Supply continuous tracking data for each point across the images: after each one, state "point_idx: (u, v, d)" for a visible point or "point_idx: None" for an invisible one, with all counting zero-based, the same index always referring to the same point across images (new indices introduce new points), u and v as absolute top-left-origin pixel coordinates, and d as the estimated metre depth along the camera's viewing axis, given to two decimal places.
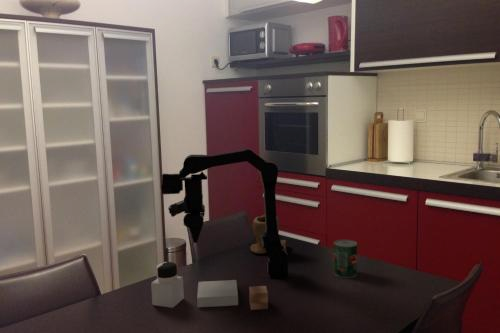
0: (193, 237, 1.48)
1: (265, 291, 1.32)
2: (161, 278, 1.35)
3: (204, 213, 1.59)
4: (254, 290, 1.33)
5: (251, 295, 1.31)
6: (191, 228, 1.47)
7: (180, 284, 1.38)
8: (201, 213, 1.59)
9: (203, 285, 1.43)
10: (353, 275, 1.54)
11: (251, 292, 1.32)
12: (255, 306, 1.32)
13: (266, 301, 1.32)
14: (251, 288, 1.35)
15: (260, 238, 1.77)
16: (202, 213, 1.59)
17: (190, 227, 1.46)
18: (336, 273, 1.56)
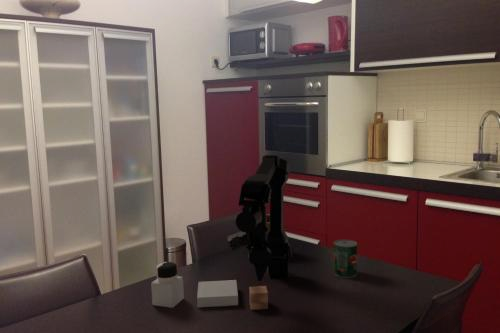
0: (258, 275, 1.28)
1: (265, 291, 1.32)
2: (161, 278, 1.35)
3: None
4: (254, 290, 1.33)
5: (251, 295, 1.31)
6: (256, 265, 1.26)
7: (180, 284, 1.38)
8: None
9: (203, 285, 1.43)
10: (353, 275, 1.54)
11: (251, 292, 1.32)
12: (255, 306, 1.32)
13: (266, 301, 1.32)
14: (251, 288, 1.35)
15: None
16: None
17: (255, 264, 1.26)
18: (336, 273, 1.56)
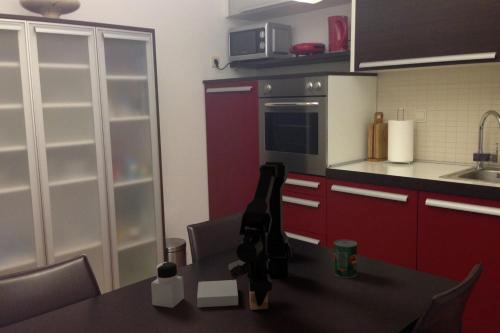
0: (258, 300, 1.31)
1: None
2: (161, 278, 1.35)
3: (266, 273, 1.38)
4: None
5: (251, 295, 1.31)
6: None
7: (180, 284, 1.38)
8: None
9: (203, 285, 1.43)
10: (353, 275, 1.54)
11: (251, 292, 1.32)
12: (255, 305, 1.32)
13: (266, 301, 1.32)
14: None
15: None
16: (264, 273, 1.38)
17: None
18: (336, 273, 1.56)
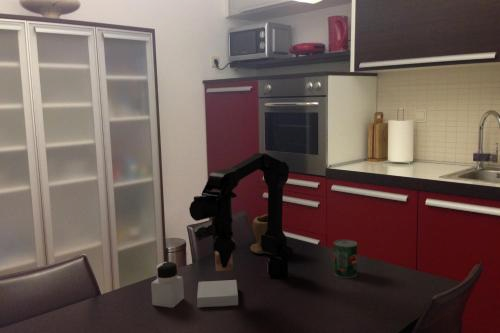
0: (222, 262, 1.34)
1: None
2: (161, 278, 1.35)
3: None
4: None
5: (216, 256, 1.35)
6: (220, 252, 1.33)
7: (180, 284, 1.38)
8: (228, 237, 1.42)
9: (203, 285, 1.43)
10: (353, 275, 1.54)
11: (216, 254, 1.35)
12: (220, 267, 1.35)
13: (231, 262, 1.35)
14: (216, 251, 1.38)
15: (260, 238, 1.77)
16: (229, 237, 1.42)
17: (219, 251, 1.32)
18: (336, 273, 1.56)
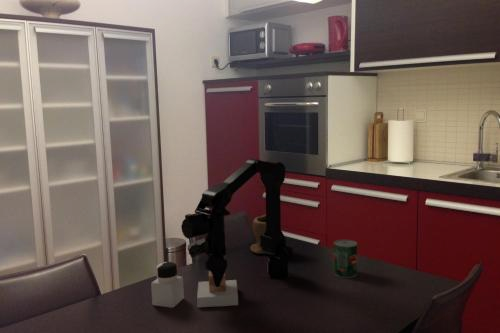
0: (215, 281, 1.34)
1: None
2: (161, 278, 1.35)
3: None
4: None
5: (209, 278, 1.37)
6: (213, 271, 1.33)
7: (180, 284, 1.38)
8: None
9: (203, 285, 1.43)
10: (353, 275, 1.54)
11: (209, 275, 1.38)
12: (213, 288, 1.38)
13: (224, 283, 1.38)
14: (210, 272, 1.40)
15: None
16: None
17: (212, 270, 1.33)
18: (336, 273, 1.56)
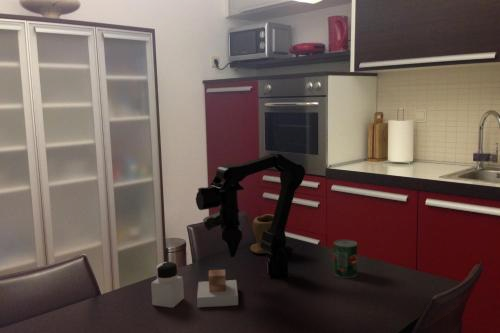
0: (230, 251, 1.42)
1: (223, 274, 1.38)
2: (161, 278, 1.35)
3: (238, 225, 1.53)
4: (213, 273, 1.39)
5: (209, 278, 1.37)
6: (229, 242, 1.40)
7: (180, 284, 1.38)
8: None
9: (203, 285, 1.43)
10: (353, 275, 1.54)
11: (209, 275, 1.38)
12: (213, 288, 1.38)
13: (224, 283, 1.38)
14: (210, 272, 1.40)
15: (260, 238, 1.77)
16: (236, 225, 1.53)
17: (228, 241, 1.40)
18: (336, 273, 1.56)
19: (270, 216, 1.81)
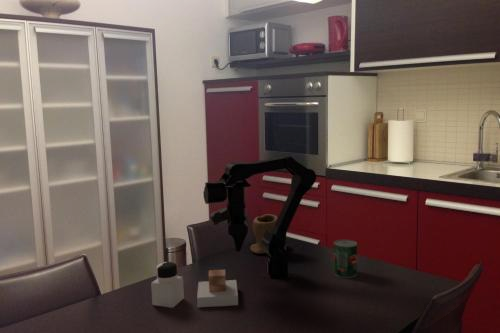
0: (236, 246, 1.46)
1: (223, 274, 1.38)
2: (161, 278, 1.35)
3: None
4: (213, 273, 1.39)
5: (209, 278, 1.37)
6: (235, 237, 1.44)
7: (180, 284, 1.38)
8: None
9: (203, 285, 1.43)
10: (353, 275, 1.54)
11: (209, 275, 1.38)
12: (213, 288, 1.38)
13: (224, 283, 1.38)
14: (210, 272, 1.40)
15: (260, 238, 1.77)
16: None
17: (234, 236, 1.44)
18: (336, 273, 1.56)
19: (270, 216, 1.81)
